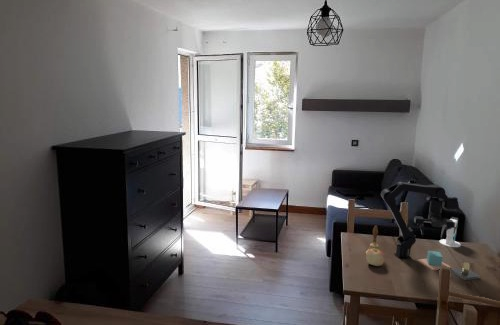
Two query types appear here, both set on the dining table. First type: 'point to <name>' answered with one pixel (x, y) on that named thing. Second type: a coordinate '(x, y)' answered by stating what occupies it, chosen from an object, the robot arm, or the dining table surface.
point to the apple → (375, 257)
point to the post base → (468, 277)
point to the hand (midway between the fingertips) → (431, 237)
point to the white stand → (451, 235)
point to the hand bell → (374, 239)
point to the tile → (432, 267)
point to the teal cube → (434, 258)
